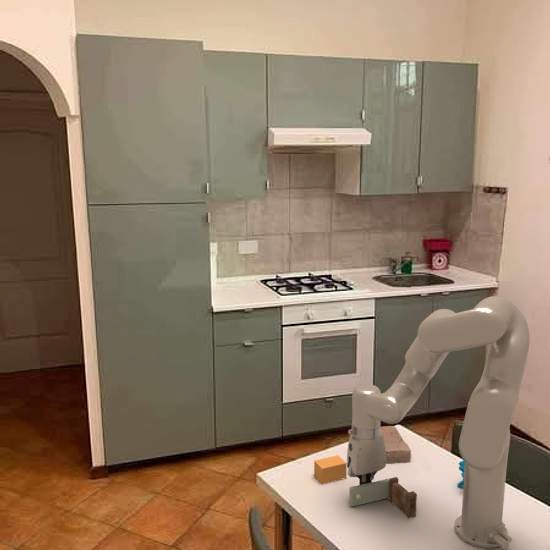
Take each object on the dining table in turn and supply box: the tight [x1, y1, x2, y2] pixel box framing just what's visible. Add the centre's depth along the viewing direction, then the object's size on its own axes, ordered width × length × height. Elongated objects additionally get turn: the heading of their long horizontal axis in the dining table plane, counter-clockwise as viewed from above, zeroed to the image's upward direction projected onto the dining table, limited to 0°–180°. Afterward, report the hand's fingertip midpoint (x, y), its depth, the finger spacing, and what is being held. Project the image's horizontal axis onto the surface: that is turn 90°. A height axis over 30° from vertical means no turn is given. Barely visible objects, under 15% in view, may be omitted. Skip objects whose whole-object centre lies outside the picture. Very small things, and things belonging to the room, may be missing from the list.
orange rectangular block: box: [313, 455, 347, 485], centre depth 171 cm, size 5×8×5 cm, turn 113°
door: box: [348, 478, 390, 507], centre depth 158 cm, size 13×2×5 cm, turn 110°
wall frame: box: [388, 476, 418, 519], centre depth 164 cm, size 30×2×6 cm, turn 23°
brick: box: [380, 425, 412, 465], centre depth 186 cm, size 17×8×5 cm, turn 7°
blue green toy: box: [456, 459, 465, 488], centre depth 165 cm, size 11×6×10 cm
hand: (365, 491), depth 160 cm, fingers closed
